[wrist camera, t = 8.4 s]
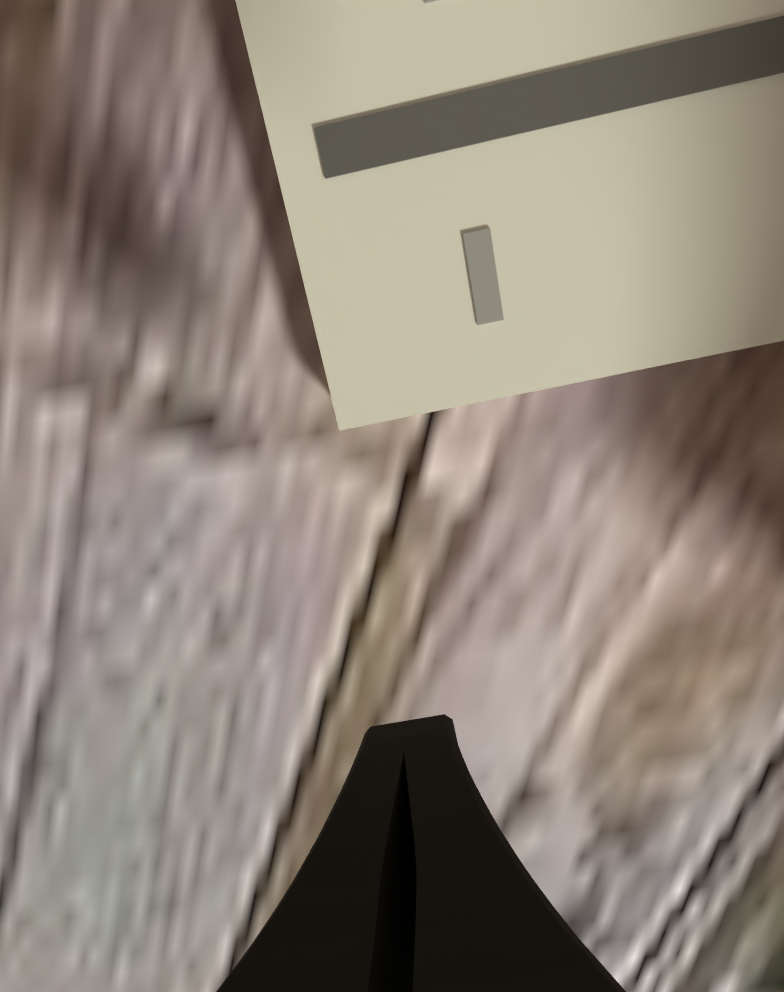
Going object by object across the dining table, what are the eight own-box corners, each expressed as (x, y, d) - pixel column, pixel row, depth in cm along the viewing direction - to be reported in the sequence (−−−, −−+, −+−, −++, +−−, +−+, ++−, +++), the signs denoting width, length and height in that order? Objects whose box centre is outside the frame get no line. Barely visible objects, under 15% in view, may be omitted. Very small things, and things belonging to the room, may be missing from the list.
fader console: (1225, -404, 13) (1371, -518, 11) (1131, 251, 17) (1226, 252, 15) (217, -131, 15) (188, -188, 13) (345, 411, 19) (339, 431, 17)
